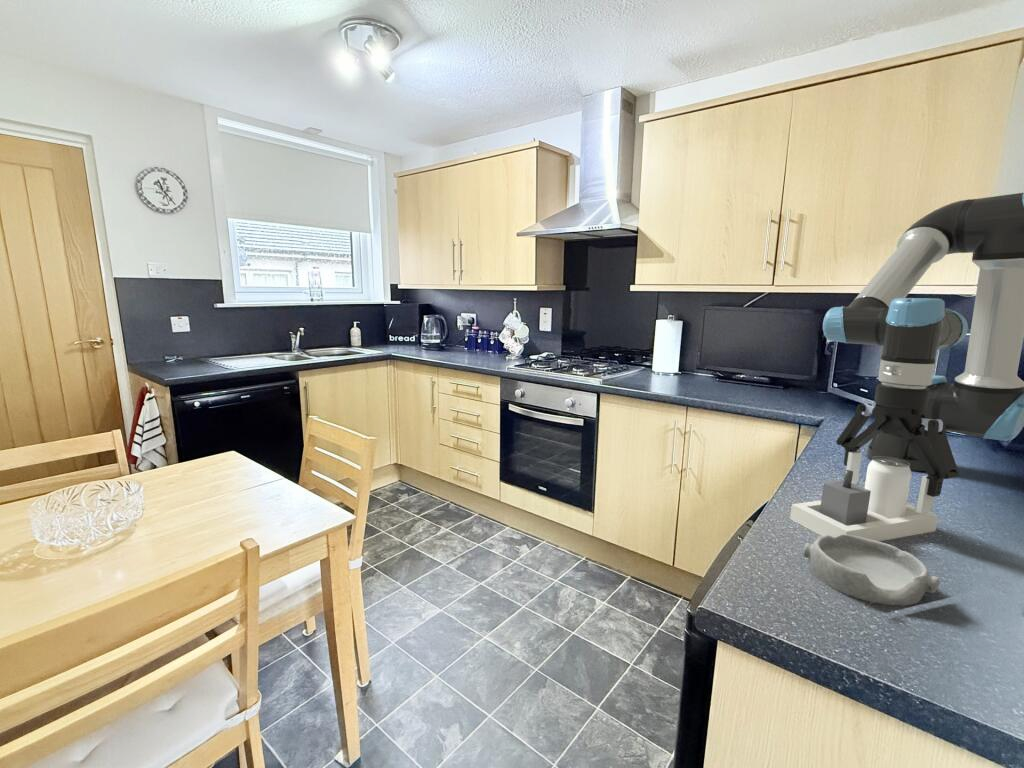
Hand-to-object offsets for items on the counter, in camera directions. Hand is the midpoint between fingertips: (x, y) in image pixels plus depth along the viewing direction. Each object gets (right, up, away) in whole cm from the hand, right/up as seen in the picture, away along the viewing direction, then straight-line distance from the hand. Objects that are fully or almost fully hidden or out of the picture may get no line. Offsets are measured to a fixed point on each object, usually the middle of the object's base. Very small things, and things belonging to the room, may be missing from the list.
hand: (884, 496), depth 89 cm
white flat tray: (-5, -6, 0) cm, 7 cm away
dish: (-17, -9, -17) cm, 26 cm away
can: (0, -5, +1) cm, 5 cm away
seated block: (-10, -5, -2) cm, 11 cm away
